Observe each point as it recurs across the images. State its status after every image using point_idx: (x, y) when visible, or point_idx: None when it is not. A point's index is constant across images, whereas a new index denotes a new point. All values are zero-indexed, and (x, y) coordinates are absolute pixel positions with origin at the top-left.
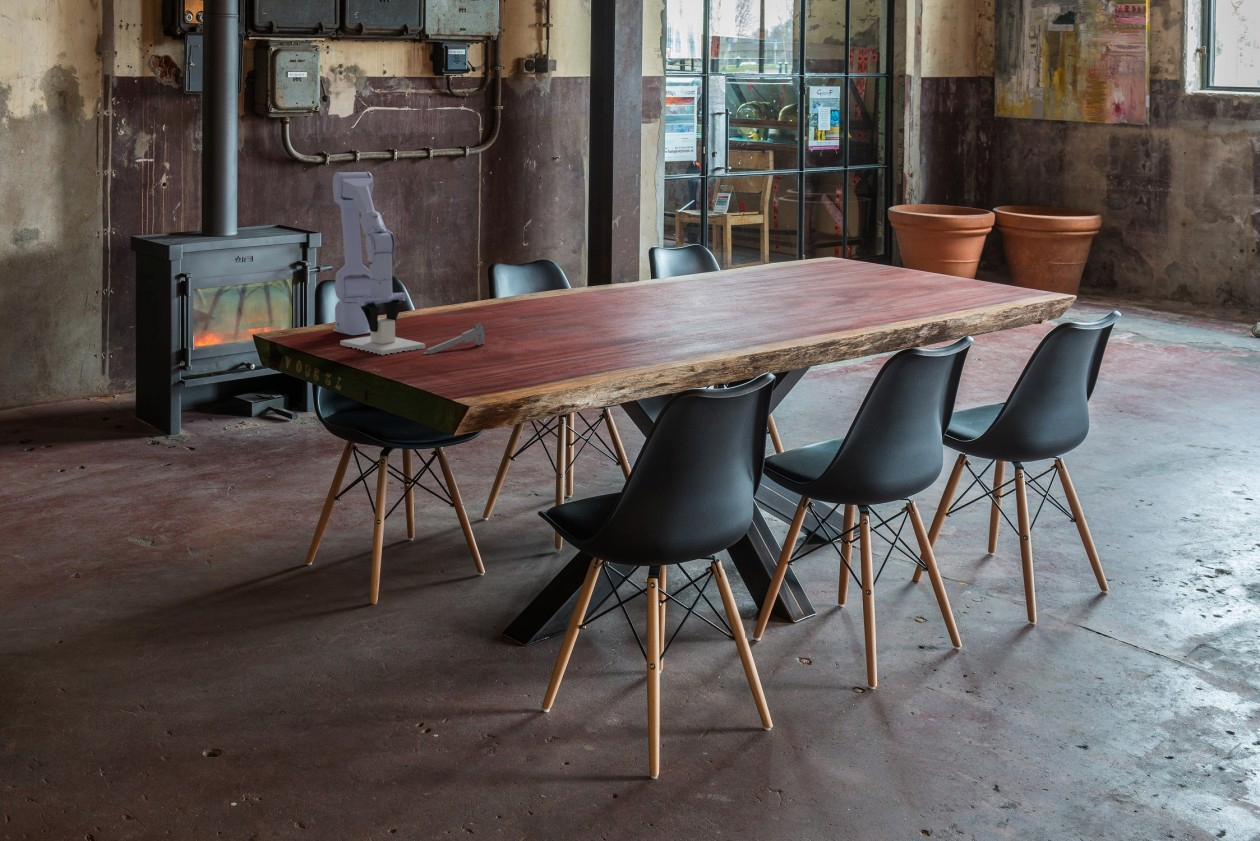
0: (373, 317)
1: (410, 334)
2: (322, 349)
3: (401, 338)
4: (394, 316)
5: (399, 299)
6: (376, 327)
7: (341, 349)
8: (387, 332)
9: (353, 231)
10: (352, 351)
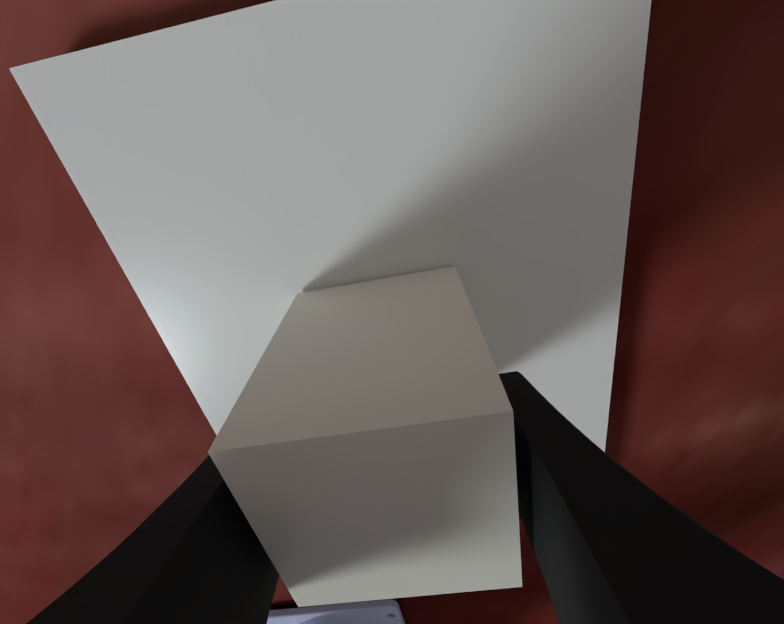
0: (698, 526)
1: (101, 533)
2: (761, 429)
3: (198, 399)
4: (173, 543)
5: None
6: (524, 397)
7: (679, 379)
8: (378, 328)
9: None
10: (682, 284)
